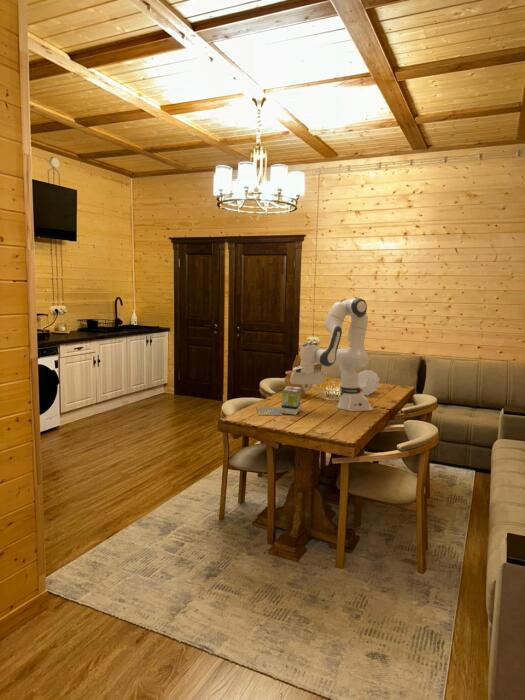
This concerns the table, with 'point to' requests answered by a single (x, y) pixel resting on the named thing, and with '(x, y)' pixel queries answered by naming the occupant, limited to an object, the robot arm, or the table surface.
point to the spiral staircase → (368, 381)
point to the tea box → (291, 400)
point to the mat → (275, 411)
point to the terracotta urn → (287, 378)
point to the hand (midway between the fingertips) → (306, 391)
